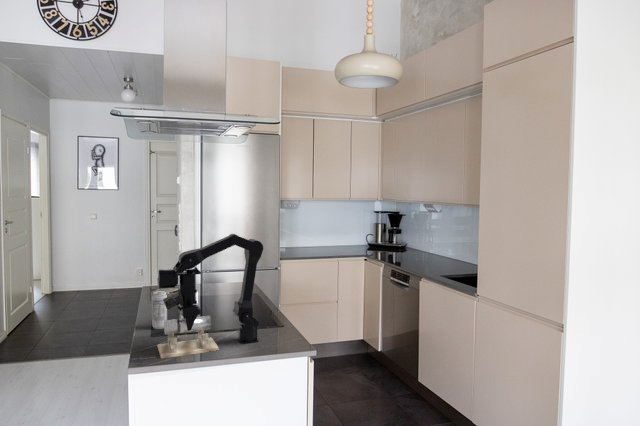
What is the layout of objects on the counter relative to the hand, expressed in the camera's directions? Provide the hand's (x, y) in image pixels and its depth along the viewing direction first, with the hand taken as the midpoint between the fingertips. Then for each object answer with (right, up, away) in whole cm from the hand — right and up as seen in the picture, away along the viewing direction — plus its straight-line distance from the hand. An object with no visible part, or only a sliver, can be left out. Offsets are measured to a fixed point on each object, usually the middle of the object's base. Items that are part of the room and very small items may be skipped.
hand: (188, 328), depth 166 cm
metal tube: (0, -1, 0) cm, 1 cm away
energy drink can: (-19, -6, +25) cm, 32 cm away
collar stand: (0, -8, 0) cm, 8 cm away
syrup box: (-8, -6, +30) cm, 31 cm away
